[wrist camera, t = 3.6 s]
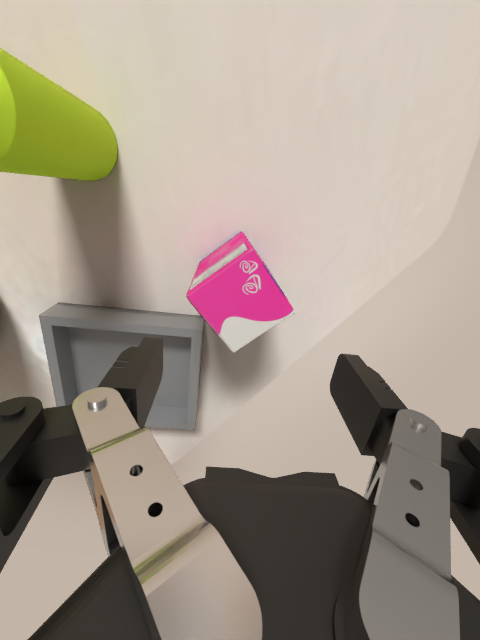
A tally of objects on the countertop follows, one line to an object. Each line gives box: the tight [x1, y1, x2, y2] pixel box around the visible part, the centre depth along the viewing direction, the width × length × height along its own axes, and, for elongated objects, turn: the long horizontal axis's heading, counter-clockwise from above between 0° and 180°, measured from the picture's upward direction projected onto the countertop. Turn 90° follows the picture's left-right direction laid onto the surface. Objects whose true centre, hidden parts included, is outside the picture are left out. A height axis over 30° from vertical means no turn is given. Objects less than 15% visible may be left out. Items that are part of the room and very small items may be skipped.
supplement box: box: [186, 232, 295, 353], centre depth 24 cm, size 6×6×12 cm
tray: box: [39, 303, 204, 430], centre depth 32 cm, size 16×14×4 cm
